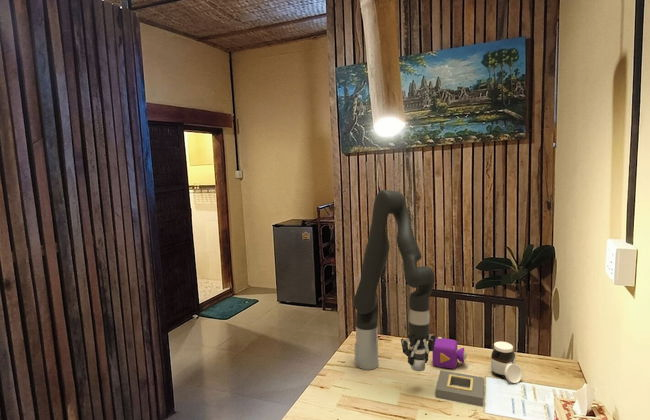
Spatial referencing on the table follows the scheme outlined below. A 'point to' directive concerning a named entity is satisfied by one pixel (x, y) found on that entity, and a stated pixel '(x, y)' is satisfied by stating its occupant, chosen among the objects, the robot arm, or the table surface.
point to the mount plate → (460, 388)
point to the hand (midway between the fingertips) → (418, 363)
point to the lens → (419, 359)
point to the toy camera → (447, 353)
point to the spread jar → (505, 362)
